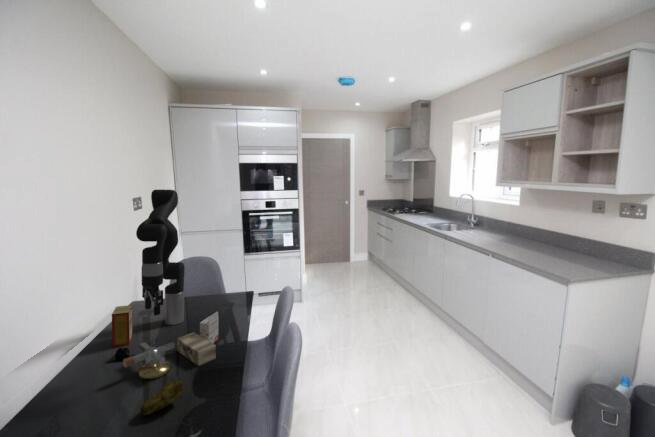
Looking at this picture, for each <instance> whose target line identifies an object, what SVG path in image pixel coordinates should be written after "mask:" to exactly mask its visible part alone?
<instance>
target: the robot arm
mask: <svg viewBox="0 0 655 437" xmlns="http://www.w3.org/2000/svg"><path fill="white" fill-rule="evenodd" d="M150 200H151V206H152V211H151V212H150V213H149V215H148V218H146V219H145V220H144V221H142V222H141V223H140V224H139V225H138V227H137V229H136V231H135V235H136V238H137V239H138V240H139V241H140V242H146V243H148V242H153V243H154V242H156V243H155V245H152V246H148V247H145V248H143V249H142V252H141V258H142V259H141V286H142V289H141V290H142V293H141V294H142V299H143V300H144V309H145V310H149V309H152V304H153V316H155V317H157V316H159V315H161V306H163V305H164V324H166V325H167V326H174V325H175V326H176V325H178V324H181V323H183V322H184V320H185V318H184V317H185V316H184V314H185V313H184V312H185V311H184V301H185V298H184V296H185V295H184V294H185V293H184V291H185V288H184V287H185V285H184V284H185V263H183V262H179V261H178V262H176V261H175V262H174V261H173V262H171V261H170V260H169V259H170V257H171V254H172V253H173V252H174V251H175V249H176V247H177V246H178V244H179V234H178V228H176V226H175V225H174V224H173V222H171V221H170V219H169V217H170V215H171V214H172V213H173V212H174V211H175V209H176V208H177V206H178V204H179V196H178V193H177V191H176V190H174V189H153V190H152V191H151V198H150ZM164 280H171V281H173V280H174V283H173V282H172V283H170V284H167V285H166V286H165V288H164V291H163V290H160V286H161V285H162V284H164ZM175 280H176V281H175Z"/></svg>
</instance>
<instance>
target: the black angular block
mask: <svg viewBox="0 0 655 437" xmlns="http://www.w3.org/2000/svg"><path fill="white" fill-rule="evenodd" d="M134 355H135V354H130V349H129V347H119V348H118V349H117V350H116V351H115V354H114V355H112V357H111V358H110V359H108V361H107V363H123V359H126V358H128V357H131V356H132V357H133V356H134Z"/></svg>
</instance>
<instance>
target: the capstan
mask: <svg viewBox="0 0 655 437" xmlns="http://www.w3.org/2000/svg"><path fill="white" fill-rule="evenodd" d="M175 348H176V343H175V342H174V341H171V342H168V343H166V344H163V345H160V346H158V347H157V346H150V345H149V344H148V343H146V342H141V343H139V349H140V351H142V353H141V352H140V353H138V354H135V355H136V356H133V357H132V356H131V357H128V358H126V359H123V362H122V364H123V367H125V368H128V367H131V366H134V365H135V364H137V363H139V362H143V361H145V364H143V365H142V366H140V368H139V369H138V377H139V376H140V377H141V378H140V377H139V378H140V379H142V378H143V379H142V380H146V379H150V380H154V379H158V378H161V377H163V376H165V375H167V374H168V372H170V369H171V363H170V361H168V360H166V357H164V356H163V355H162V353H165V352H168V351H170V350H173V349H175Z"/></svg>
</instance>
